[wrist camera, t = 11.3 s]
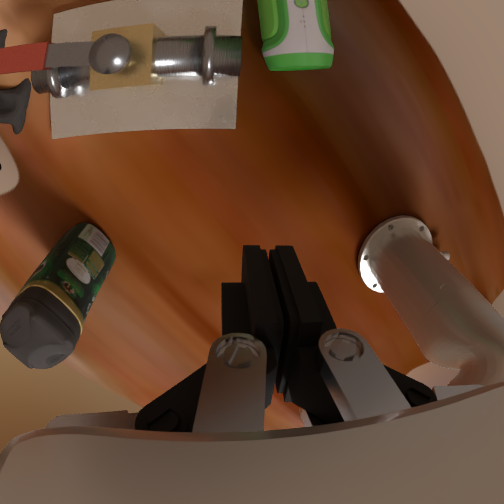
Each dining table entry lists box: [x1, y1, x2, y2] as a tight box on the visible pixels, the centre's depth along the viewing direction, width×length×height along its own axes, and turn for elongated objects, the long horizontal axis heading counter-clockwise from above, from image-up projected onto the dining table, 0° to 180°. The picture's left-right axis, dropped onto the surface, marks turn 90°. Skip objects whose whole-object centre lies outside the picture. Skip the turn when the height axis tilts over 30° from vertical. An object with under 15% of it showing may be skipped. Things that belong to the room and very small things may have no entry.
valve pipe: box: [31, 0, 243, 139], centre depth 26 cm, size 23×16×7 cm
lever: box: [0, 33, 133, 74], centre depth 20 cm, size 14×4×3 cm, turn 78°
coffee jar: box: [0, 223, 116, 369], centre depth 31 cm, size 10×8×19 cm
